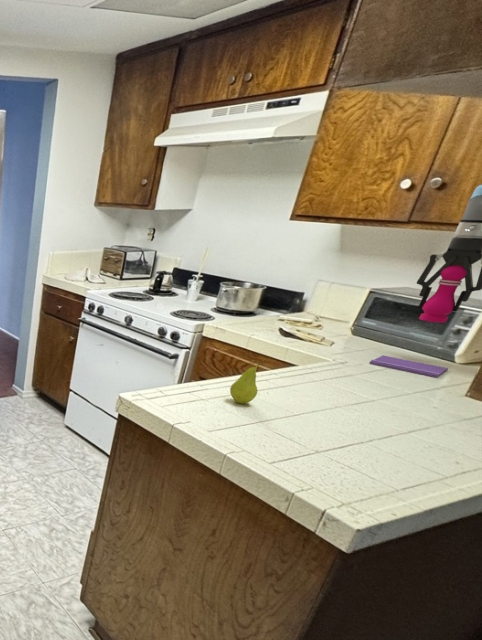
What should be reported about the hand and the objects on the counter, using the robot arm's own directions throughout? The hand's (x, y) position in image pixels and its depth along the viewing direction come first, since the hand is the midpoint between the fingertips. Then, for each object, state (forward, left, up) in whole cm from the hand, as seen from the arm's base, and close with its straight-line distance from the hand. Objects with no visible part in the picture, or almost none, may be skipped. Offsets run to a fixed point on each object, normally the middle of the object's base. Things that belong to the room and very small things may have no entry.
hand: (437, 308), depth 157 cm
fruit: (+14, +98, -18) cm, 101 cm away
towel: (-1, +13, -18) cm, 22 cm away
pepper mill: (0, 0, -4) cm, 4 cm away
